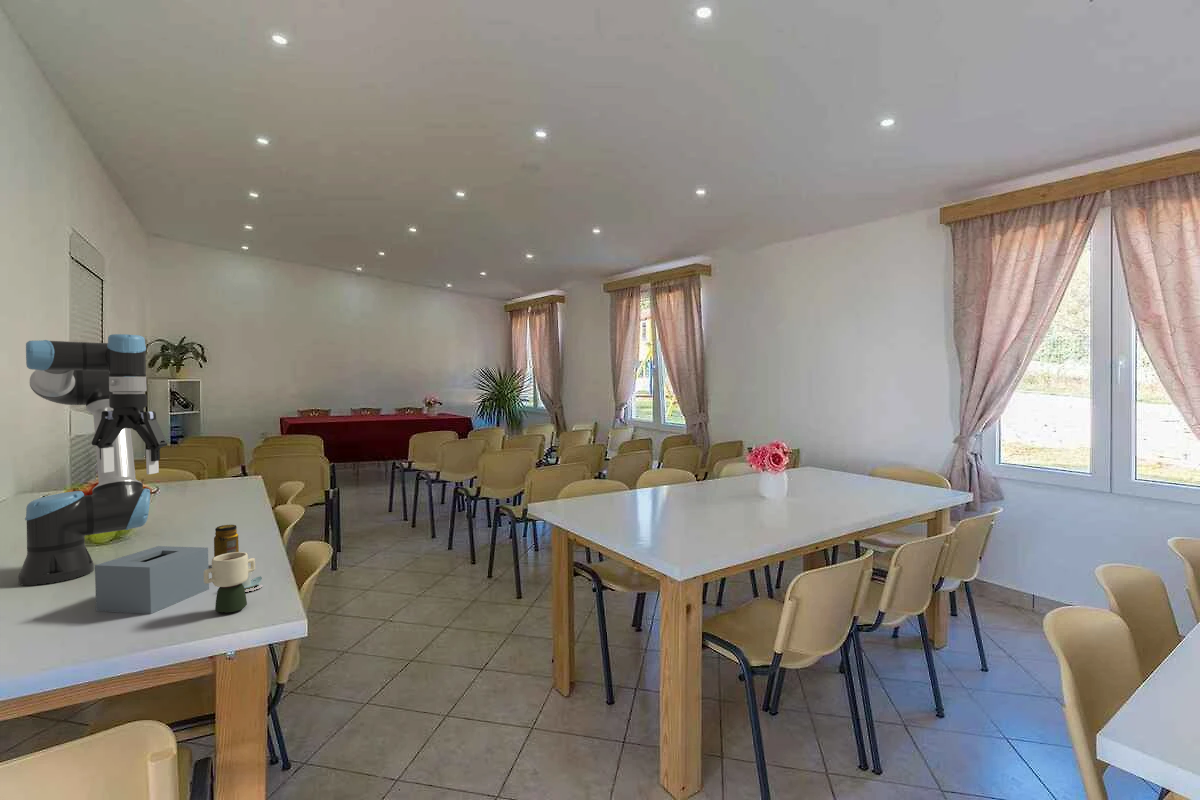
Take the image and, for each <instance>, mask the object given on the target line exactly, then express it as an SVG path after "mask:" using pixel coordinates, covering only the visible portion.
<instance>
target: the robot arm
mask: <svg viewBox="0 0 1200 800" xmlns="http://www.w3.org/2000/svg"><path fill="white" fill-rule="evenodd" d="M146 350H147V347H146V339H145V337H144V336H142V335H139V334H126V333H125V334H124V333H123V334H121V333H120V334H119V333H111V334H110V335H109V336H108V337H107V342H85V341H84V342H83V341H82V342H81V341H63V340H47V339H43V340H39V339H38V340H28V341H27V342H26V343H25V361H26V362H25V365H26V368H28V369H29V370H34V371H33V372H32V373H31V375H30V377H29V387H30V389H31V390H32V392H33V393H34V394H35V395H36V396H38V397H40V398H42V399H43V400H44V399H45V400H46V401H49V402H53V403H55V404H60V405H67V406H68V405H69V406H85V409H86V411H87V412H88V413H90V414H92V415H93V426H94V428H93V429H94V436H93V438H92V441H91V445H92V446H95V450H96V451H95V452H96V464H97V466H96V467H97V476H98V477H97V478H98V479H97V480H98V484H97V485H95V486H94V487H93V488H92V490H91V491H92V494H88V495H85V493H84V492H83V491H81V490H74V491H66V492H61V493H56V494H50V495H46V496H42V497H39V498H36V499H33V500H31V501H30V502H29V503H28V504H27V506H26V508H25V511H26V512H25V513H26V514H25V518H24V520H25V521H26V556H25V558H24V561H23V563H22V566H21V569H20V572H19V574H18V584H19V583H20V584H19V585H21V584H23V585H22V586H38V585H37V584H43V585H47V584H46V583H50V584H54V582H56V583H60V582H59V581H61V582H65V581H64V580H66V581H69V580H68V579H70V580H73V579H72V578H74V579H76V578H75V577H78V578H80V577H79V576H81V577H83V575H84V576H86V575H85V574H87V575H88V573H89V574H91V573H93V572H94V571H95V563H94V560H92V557H91V554H90V553H89V551H88V548H87V547H86V541H85V539H86V538H85V537H86V536H90V535H98V534H105V533H106V534H107V533H111V532H112V533H113V532H119V531H128V530H131V529H137V528H141V527H143V526H144V525H146V523H147V521H148V517H149V513H150V504H151V489H149V488H144V485H143V482H142V481H140V480H138V479H136V477H137V476H136V470H135V467H136V466H135V458H134V450H133V449H134V448H133V439H132V430H133V431H135V432H136V433H137V434H138V436H139V437H140V439H141V440H142V441H143V442H144V444H145V445H146V447H147V448H146V449H145V462H146V470H145V471H146V475H154V474H157V473H158V474H159V473H160V472H159V471H160V468H159V467H160V466H159V461H160V460H161V448H164V447H166V446H168V441H167V440H166V438H165V435H164V433H163V431H162V428H161V425H159V422H158V420H157V413H156V412H155V411H152V410H151V411H145V408H147V406H148V397H147V396H148V395H147V394H146V393H145V392H147V390H148V388H147V387H148V386H147V384H148V383H147V373H146V372H147V371H146V370H147V369H146V368H147V363H146V361H147V359H146V354H147V352H146ZM131 429H132V430H131ZM90 572H91V573H90Z"/></svg>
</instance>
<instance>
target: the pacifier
mask: <svg viewBox="0 0 1200 800" xmlns="http://www.w3.org/2000/svg"><path fill="white" fill-rule="evenodd" d="M249 568H251V565H248V569H249ZM252 574H253V572H249V573H248V579H247V581H245V582H243V583H242V584H243V586H244V589H245V592H248V593H250V592H249V591H252V592H255V591H257V590H256V589H258V590H260V589H262V588H263V587H264V586H263V584H260V583H261V582H262V580H263V576H256V577H254V578H253V579H252V578H251V576H252ZM255 586H258V587H255ZM253 587H255V588H253ZM261 587H262V588H261ZM250 588H253V589H250ZM259 588H260V589H259ZM246 589H249V590H246ZM254 590H255V591H254Z"/></svg>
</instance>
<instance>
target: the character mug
mask: <svg viewBox="0 0 1200 800" xmlns="http://www.w3.org/2000/svg"><path fill="white" fill-rule="evenodd" d="M249 564H250V567H251V568H249V569H248V566H249ZM211 565H212V568H211V567H209V569H206V570H204V583H205V584H207V583H209V584H210V583H211V584H213V585H214V587H216V588H217V587H218V589H217V591H216V597H215V607H214V611H215V612H218V613H223V612H225V613H235V612H238V611H241V610H242V609H244V608H246V606H247V605H248V602H247V595H246V594H247V593H245V589H244V586H243V584H242V583H243V582H245V581H247V579H248V573H249V572H252V573H253V572H254V571H256V558H255V557H251V558H249V555H248V553H247V552H245V551H239V552H233V553H226V554H222V555H218V556H216V557H214V556H213V557H212V558H211ZM210 573H211V578H210Z"/></svg>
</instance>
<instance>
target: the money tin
mask: <svg viewBox="0 0 1200 800" xmlns="http://www.w3.org/2000/svg"><path fill="white" fill-rule="evenodd" d="M206 569H210V567H209V547H205V546H204V547H203V546H201V547H199V546H171V545H170V546H168V545H166V546H165V545H158V546H154V547H150V548H147V549H144V550H141V551H138V552H137V551H136V552H134V553H131V554H128V555H125V556H121V557H117V558H115V559H111V560H108V561H104V562H100V563H98V564H94V581H95V583H94V584H95V610H96V612H106V611H108V612H107V613H109V612H111V613H127V614H146V615H148V614H149V615H152V614H155V613H156V612H157V613H158V611H161V610H164V609H166V608H168V607H170V606H174V605H176V604H177V603H180V602H182V601H185V600H187V599H189V598H191V596H192V597H194V596H197V595H198V593H199V594H200V592H201V593H203V592H205V590H206V591H207V589H208V590H210V583H207V584H205V583H204V570H206ZM202 591H203V592H202Z"/></svg>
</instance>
